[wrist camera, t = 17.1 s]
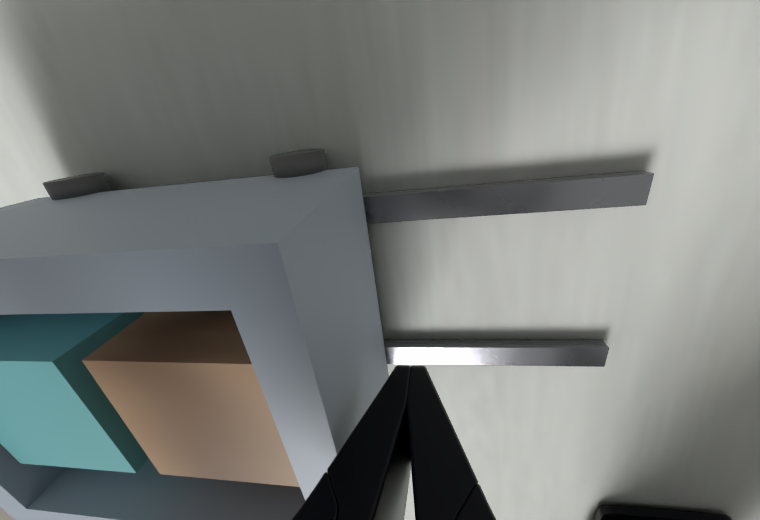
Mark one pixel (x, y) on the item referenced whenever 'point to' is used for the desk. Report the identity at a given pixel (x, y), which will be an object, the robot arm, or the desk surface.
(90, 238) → the box
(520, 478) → the desk surface
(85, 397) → the teal block
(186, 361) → the tan cube
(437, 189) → the rails
